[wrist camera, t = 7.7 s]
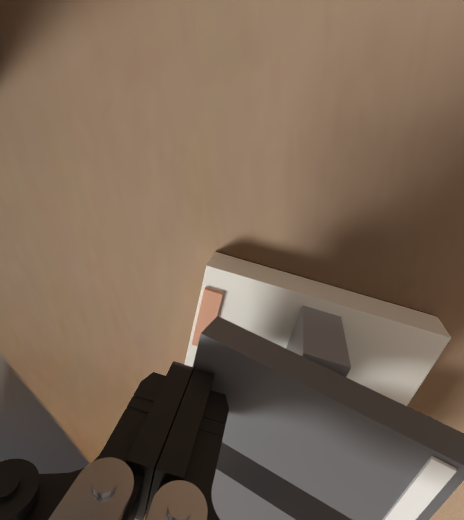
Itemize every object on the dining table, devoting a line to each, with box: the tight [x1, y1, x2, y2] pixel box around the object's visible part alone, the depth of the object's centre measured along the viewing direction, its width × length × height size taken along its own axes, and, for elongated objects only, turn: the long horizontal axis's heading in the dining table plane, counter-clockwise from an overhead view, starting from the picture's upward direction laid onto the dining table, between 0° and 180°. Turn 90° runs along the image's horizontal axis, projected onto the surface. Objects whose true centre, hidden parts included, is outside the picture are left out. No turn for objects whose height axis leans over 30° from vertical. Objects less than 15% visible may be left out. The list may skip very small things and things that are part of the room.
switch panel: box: [184, 252, 451, 406], centre depth 16 cm, size 16×10×4 cm, turn 167°
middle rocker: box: [212, 442, 352, 520], centre depth 14 cm, size 4×8×1 cm, turn 77°
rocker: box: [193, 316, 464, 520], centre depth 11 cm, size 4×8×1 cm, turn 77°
